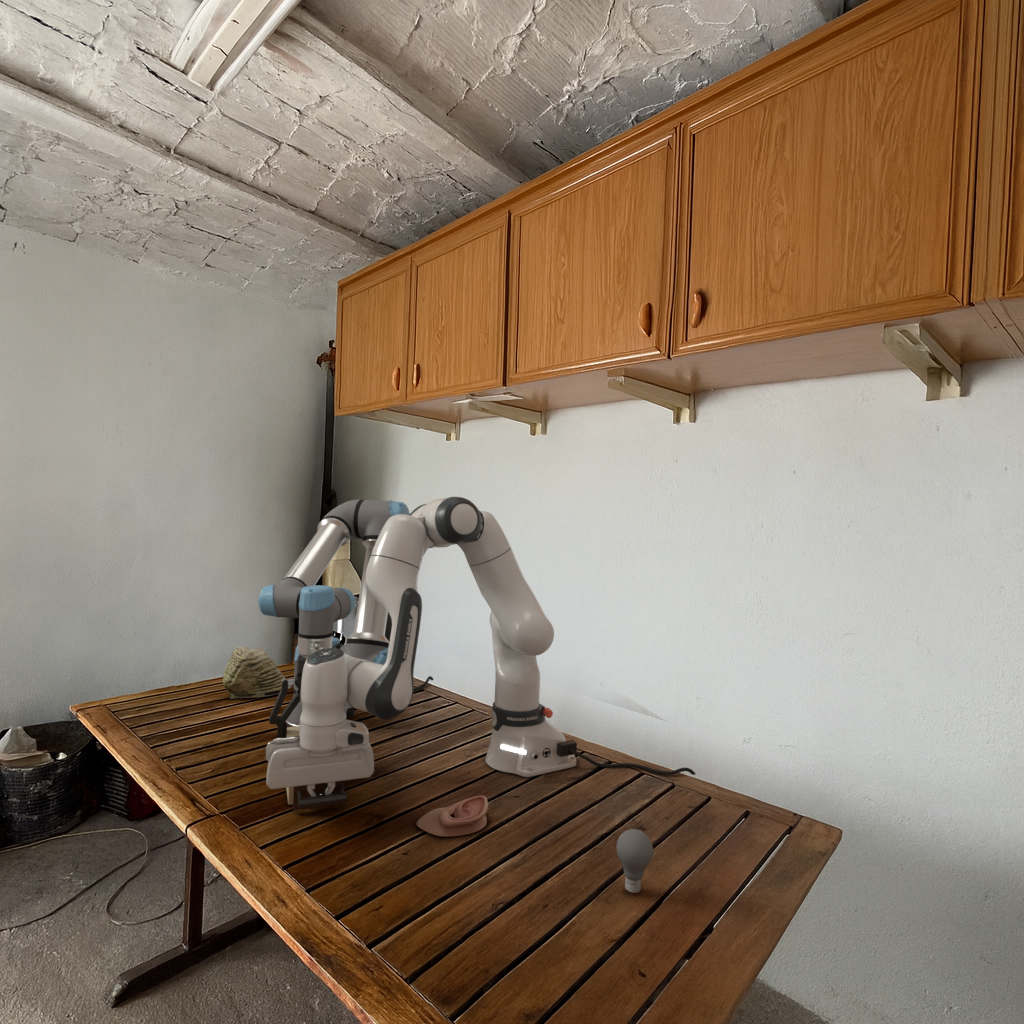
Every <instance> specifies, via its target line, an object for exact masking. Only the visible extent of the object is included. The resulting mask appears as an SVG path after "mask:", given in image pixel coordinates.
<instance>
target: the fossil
mask: <svg viewBox="0 0 1024 1024" xmlns="http://www.w3.org/2000/svg"><path fill="white" fill-rule="evenodd" d="M222 676H223V677H222V685H223V687H224V688H225V690H226V691H228V693H229V698H230V699H250V698H264V697H271V696H275V695H279V693H280V690H281V688H282V679H283V678H286V677H285V676H284V674H283V673H282V672H281V669H279V668H278V667H277V665H276V663H275V662H274V660H273V659H272V658H271V657H270V656H269V655H268V654H267V653H266V652H265V650H264V649H263V648H260V647H258V648H251V647H247V646H246V647H245V646H238V647H237V648H236V649H235V650H233V651H232V653H231V656H230V657H229V659H228V660H227V663H226V666H225V668H224V671H223V675H222Z"/></svg>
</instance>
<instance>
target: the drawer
mask: <svg viewBox="0 0 1024 1024" xmlns="http://www.w3.org/2000/svg"><path fill="white" fill-rule="evenodd" d="M327 787H328V785H327V783H320V784H315V789H313V790H314V791H315V793H321V792H325V790H326V788H327ZM345 789H346V780H344V781H336V782H335V788H334V789H333V791H332V792H331V794H330V795H324V796H316V797H311V795H310V794H309V792H308V790H307V785H304V786H295V787H294V789H293V804H292V811H300V810H306V809H314V808H320V807H327V806H335V805H339V804H341V805H342V804H345V802H347V799H348V796H347V794H348V793H347V792H345V791H346V790H345Z"/></svg>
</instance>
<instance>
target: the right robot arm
mask: <svg viewBox="0 0 1024 1024" xmlns="http://www.w3.org/2000/svg"><path fill="white" fill-rule="evenodd" d="M455 545H457V546H458V547H459V548H460V550H462V552H463V554H464V556H465V559H466V562H467V564H468V567H469V569H470V571H471V573H472V575H473V578H474V580H475V583H476V585H477V587H478V590H479V592H480V594H481V595H482V597H483V599H484V600H485V602H486V604H487V605H488V607H489V609H490V613H489V624H490V629H491V637H492V651H493V661H494V668H495V669H494V670H495V673H494V674H495V676H494V677H495V678H494V701H493V702H492V707H491V708H492V709H491V728H492V730H491V736H490V741H489V744H488V745H489V746H488V749H487V753H486V755H485V758H484V761H485V763H486V764H487V766H489V767H490V768H492V769H494V770H496V771H500V772H503V773H509V774H513V775H517V776H519V777H523V778H530V777H531V778H532V777H536V776H539V775H544V774H547V773H553V772H558V771H562V770H566V769H570V768H575V767H576V766H577V758H576V756H577V757H578V758H581V759H583V760H585V761H587V762H589V763H590V764H592V765H594V766H596V767H599V768H604V769H609V768H610V769H611V768H612V769H613V768H636V769H640V770H644V771H646V772H650V773H652V774H653V773H654V774H656V775H657V774H659V775H662V776H663V775H664V776H673V775H676V774H679V773H683V772H688V773H690V774H691V775H693V776H695V775H697V774H696V772H695V771H694V770H693V769H692V768H689V767H680V768H677V769H673V770H660V769H655V768H652V767H649V766H646V765H642V764H638V763H631V762H619V763H602V762H601V763H600V762H597V761H595V760H593V759H592V758H590V757H589V756H587V755H585V754H582V753H580V752H579V751H578V742H577V741H575V740H573V739H570V740H566V737H565V735H564V734H563V733H562V731H561V730H559V729H558V727H556V726H555V725H554V724H552V723H551V722H550V721H549V720H548V719H551V718H552V716H554V712H553V710H552V709H551V708H549V707H546V706H545V705H543V704H541V703H540V692H541V691H540V690H541V671H540V668H539V665H538V664H539V663H538V660H537V659H538V658H537V656H539V655H542V654H544V653H545V652H547V651H548V650H549V649H550V648H551V646H552V645H553V642H554V639H555V630H554V627H553V624H552V622H551V621H550V620H549V618H548V616H547V615H546V613H545V611H544V609H543V608H542V605H541V604H540V602H539V600H538V598H537V597H536V595H535V593H534V592H533V590H532V588H531V586H530V585H529V583H528V581H527V580H526V578H525V576H524V575H523V572H522V570H521V566H520V565H519V563H518V560H517V558H516V555H515V553H514V551H513V548H512V546H511V544H510V541H509V539H508V537H507V536H506V534H505V532H504V529H502V526H501V525H500V523H499V522H498V520H497V518H495V515H493V514H492V513H490V512H489V511H486V510H485V511H484V510H479V508H478V507H477V506H476V504H475V503H473V502H472V501H471V500H469V499H467V498H465V497H461V496H449V497H444V498H437V499H433V500H432V501H430V502H427V503H423V504H420V505H418V506H417V507H416V508H414V509H413V510H412V511H411V512H410V514H409V515H406V514H398V515H394V516H392V517H390V518H389V519H388V520H387V521H386V523H385V525H384V527H383V528H382V530H381V532H380V534H379V536H378V539H377V541H376V543H375V546H374V548H373V551H372V554H371V557H370V560H369V563H368V566H367V569H366V576H365V583H366V586H367V589H368V591H369V592H370V594H371V595H372V597H373V598H374V599H375V600H376V601H377V602H379V603H380V604H381V605H382V606H384V607H385V608H386V610H387V611H388V615H389V616H390V619H391V629H390V630H391V631H390V636H389V647H388V654H387V660H386V662H385V664H384V665H381V664H378V663H374V662H371V661H368V660H364V659H359V658H355V657H352V656H349V655H347V654H346V653H345V652H344V651H343V650H341V649H337V648H329V649H321V650H318V651H316V652H314V653H312V654H311V655H309V656H308V658H307V659H306V662H305V664H304V668H303V673H302V680H301V702H302V713H301V716H300V726H299V736H292V737H287V738H277V737H276V738H274V739H273V740H272V741H271V740H270V741H269V742H268V743H267V744H266V746H265V750H264V751H265V753H264V754H265V755H264V757H265V761H267V762H268V763H267V766H266V767H267V768H266V769H267V770H266V774H265V775H266V776H265V784H266V786H267V788H269V790H278V789H286V788H287V787H295V786H304V785H307V790H308V792H309V794H310V795H311V797H316V796H324V795H330V794H331V792H332V791H333V789H334V788H335V782H336V781H344V780H345V781H351V780H352V781H353V780H359V779H368V778H371V777H372V775H373V774H374V773H375V757H374V750H373V747H372V745H371V743H370V733H369V729H368V727H367V726H366V724H365V723H363V722H359V721H355V720H350V719H348V718H347V716H346V711H347V709H348V708H351V707H353V709H357V710H359V711H362V712H366V713H369V714H370V715H372V716H374V717H376V718H378V719H381V720H382V721H391V720H393V719H395V718H397V717H399V716H401V714H403V713H404V712H405V711H406V710H407V709H408V708H409V706H410V705H411V703H412V700H413V697H414V691H413V690H414V688H415V687H414V686H415V685H414V682H415V681H414V674H415V673H414V672H415V662H416V657H417V649H418V643H419V637H420V628H421V621H422V612H423V600H422V596H421V594H420V593H419V590H418V589H419V588H418V581H419V574H420V570H421V567H422V563H423V558H424V556H425V554H426V553H427V551H428V549H433V548H441V549H442V548H448V547H451V546H455ZM546 718H547V719H546ZM298 741H299V742H298ZM671 771H672V772H671ZM320 783H327V785H328V787H327V788H326V790H325V792H321V793H315V791H314V790H313V789H315V784H320Z"/></svg>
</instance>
